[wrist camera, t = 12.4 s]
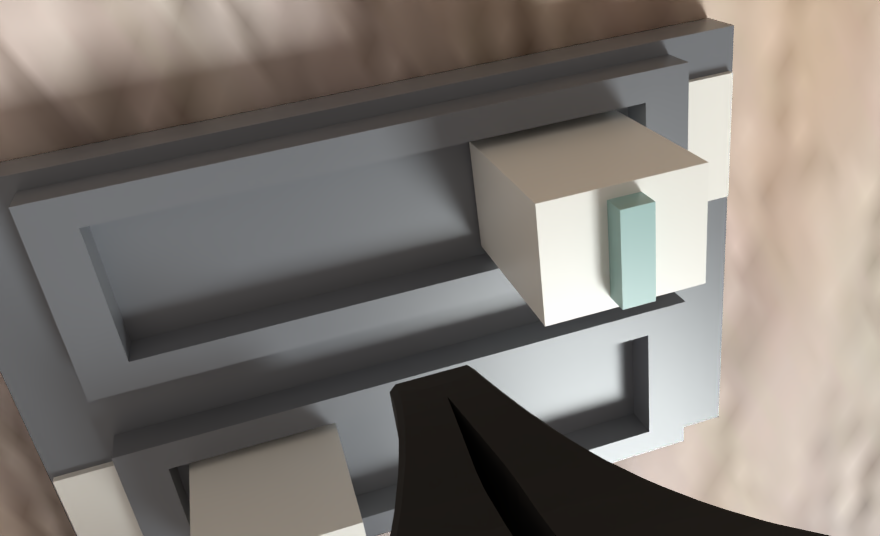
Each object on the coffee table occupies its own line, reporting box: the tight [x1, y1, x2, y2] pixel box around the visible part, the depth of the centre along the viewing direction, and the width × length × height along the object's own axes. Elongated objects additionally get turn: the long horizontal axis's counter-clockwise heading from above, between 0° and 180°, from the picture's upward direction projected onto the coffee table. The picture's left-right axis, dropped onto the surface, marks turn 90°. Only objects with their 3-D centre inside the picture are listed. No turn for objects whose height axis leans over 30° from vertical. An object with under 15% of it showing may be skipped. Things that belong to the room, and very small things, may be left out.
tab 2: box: [469, 110, 709, 327], centre depth 20 cm, size 3×4×5 cm
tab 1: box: [189, 423, 366, 536], centre depth 21 cm, size 3×4×5 cm
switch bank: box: [0, 18, 734, 536], centre depth 23 cm, size 13×20×2 cm, turn 97°
